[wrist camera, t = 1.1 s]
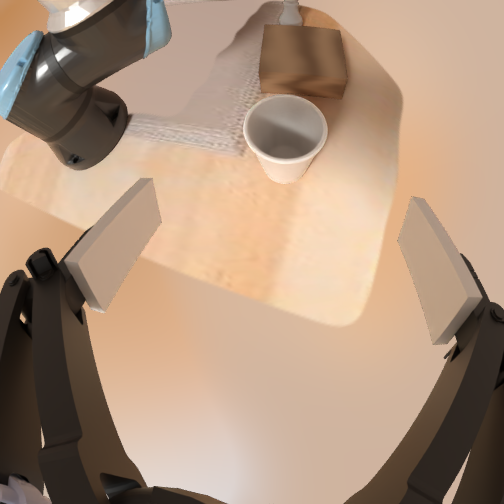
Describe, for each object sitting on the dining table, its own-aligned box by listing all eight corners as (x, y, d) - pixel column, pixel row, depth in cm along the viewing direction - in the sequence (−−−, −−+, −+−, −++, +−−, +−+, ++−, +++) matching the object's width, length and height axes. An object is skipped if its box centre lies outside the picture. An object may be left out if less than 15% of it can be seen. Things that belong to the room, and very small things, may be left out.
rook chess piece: (298, 17, 37) (299, -13, 29) (306, 28, 36) (307, -3, 28) (276, 19, 37) (274, -11, 29) (282, 31, 37) (281, -1, 29)
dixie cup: (301, 204, 34) (308, 176, 24) (242, 178, 35) (227, 143, 25) (325, 151, 34) (339, 111, 24) (269, 128, 35) (264, 84, 25)
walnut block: (261, 92, 36) (258, 71, 31) (266, 44, 37) (264, 24, 32) (341, 99, 34) (347, 79, 29) (336, 49, 35) (339, 30, 30)
